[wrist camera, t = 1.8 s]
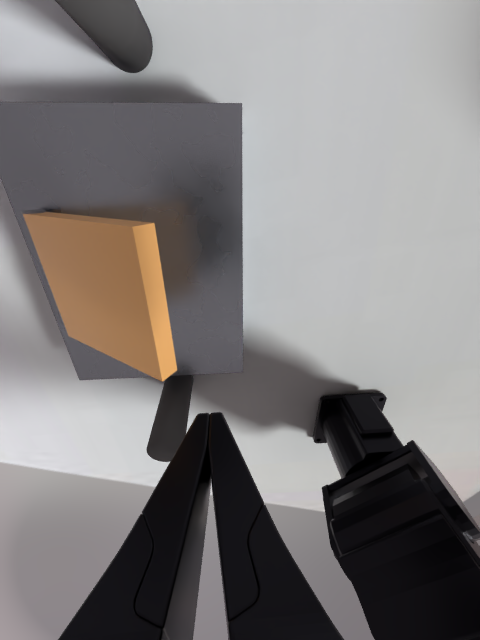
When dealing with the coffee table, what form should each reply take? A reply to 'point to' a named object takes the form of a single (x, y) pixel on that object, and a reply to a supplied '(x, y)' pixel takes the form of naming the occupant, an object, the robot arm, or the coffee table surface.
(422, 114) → the coffee table surface
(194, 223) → the grey flat block
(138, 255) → the orange flat block
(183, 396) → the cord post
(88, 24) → the post
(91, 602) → the robot arm
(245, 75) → the coffee table surface
